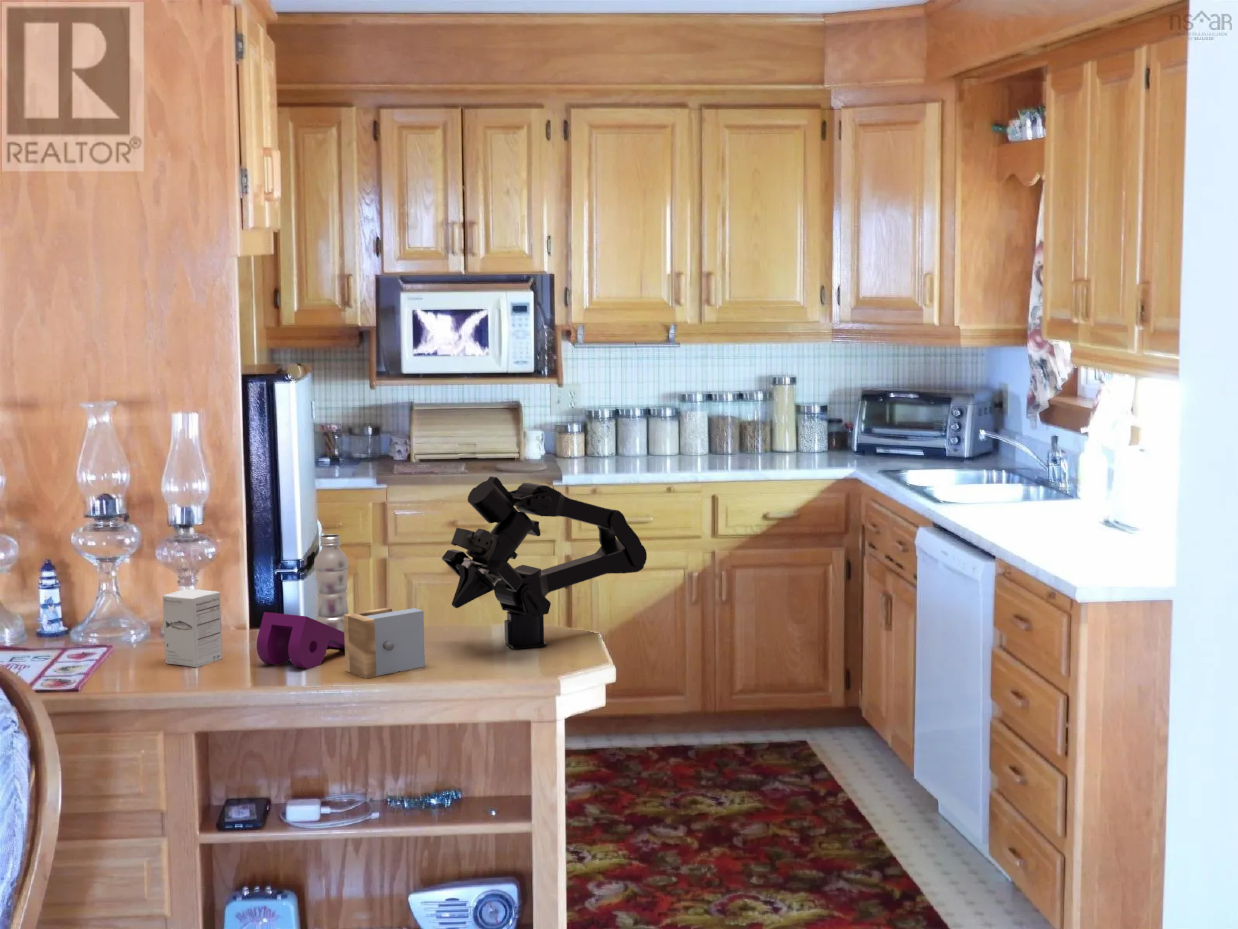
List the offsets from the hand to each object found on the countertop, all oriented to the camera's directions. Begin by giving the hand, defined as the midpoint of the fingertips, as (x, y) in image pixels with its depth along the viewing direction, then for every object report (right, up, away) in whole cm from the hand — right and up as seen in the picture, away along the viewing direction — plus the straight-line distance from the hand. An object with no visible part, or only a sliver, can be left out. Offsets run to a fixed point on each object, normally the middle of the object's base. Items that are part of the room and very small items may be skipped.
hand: (454, 606), depth 265 cm
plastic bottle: (-25, -8, +17) cm, 31 cm away
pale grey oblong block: (-10, -10, -7) cm, 16 cm away
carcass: (-13, -11, -7) cm, 18 cm away
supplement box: (-47, -10, +1) cm, 48 cm away
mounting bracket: (-26, -10, +3) cm, 28 cm away
